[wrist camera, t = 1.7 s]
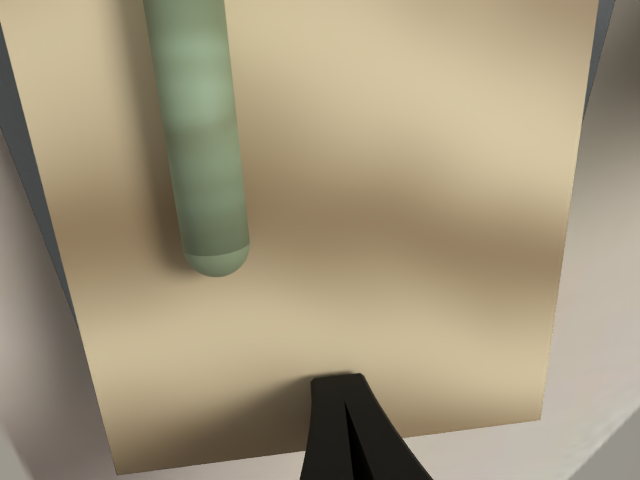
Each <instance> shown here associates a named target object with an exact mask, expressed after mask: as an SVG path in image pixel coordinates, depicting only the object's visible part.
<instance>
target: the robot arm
mask: <svg viewBox="0 0 640 480" xmlns="http://www.w3.org/2000/svg"><path fill="white" fill-rule="evenodd" d="M310 385H311V416H310V426H309V433H308V439H307V446H306V452H305V458H304V462H303V467H302V471H301V476H300V480H433V479H432V478H431V476H430V475H429V474H428V472H427V471H426V470H425V469H424V467H423V466H422V465H421V464H420V462H419V461H418V460H417V458H416V457H415V456H414V454H413V453H412V452H411V450H410V449H409V448H408V446H407V445H406V443H405V442H404V440H403V439H402V437H401V436H400V435H399V433H398V432H397V430H396V429H395V427H394V426H393V424H392V423H391V421H390V420H389V418H388V417H387V415H386V414H385V412H384V410H383V409H382V407H381V406H380V404H379V402H378V401H377V399H376V397H375V395H374V394H373V392H372V390H371V388H370V386H369V384H368V382H367V380H366V378H365V376H364V375H363V374H361V373H355V374H346V375H337V376H328V377H320V378H314V379H313V380H312V381H311V382H310Z"/></svg>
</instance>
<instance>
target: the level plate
mask: <svg viewBox="0 0 640 480" xmlns="http://www.w3.org/2000/svg"><path fill="white" fill-rule="evenodd" d="M598 3H599V0H0V22H1V26H2V30H3V34H4V38H5V42H6V46H7V49H8V53H9V57H10V61H11V65H12V69H13V73H14V77H15V81H16V84H17V88H18V92H19V96H20V100H21V104H22V108H23V112H24V116H25V120H26V123H27V127H28V131H29V135H30V139H31V143H32V147H33V151H34V155H35V158H36V162H37V166H38V170H39V174H40V178H41V182H42V186H43V190H44V194H45V197H46V201H47V205H48V209H49V213H50V217H51V221H52V225H53V229H54V232H55V236H56V240H57V244H58V248H59V252H60V256H61V260H62V264H63V268H64V271H65V275H66V279H67V283H68V287H69V291H70V295H71V299H72V303H73V306H74V310H75V314H76V318H77V322H78V326H79V330H80V334H81V338H82V342H83V345H84V349H85V353H86V357H87V361H88V365H89V369H90V373H91V377H92V380H93V384H94V388H95V392H96V396H97V400H98V404H99V408H100V412H101V416H102V419H103V423H104V427H105V431H106V435H107V439H108V443H109V447H110V451H111V454H112V458H113V462H114V466H115V470H116V474H117V475H123V474H131V473H139V472H146V471H154V470H162V469H169V468H177V467H184V466H192V465H200V464H207V463H215V462H223V461H230V460H238V459H246V458H253V457H261V456H269V455H276V454H284V453H292V452H299V451H306V446H307V439H308V433H309V426H310V416H311V385H310V382H311V381H312V380H313V379H314V378H320V377H328V376H337V375H346V374H355V373H361V374H363V375H364V376H365V378H366V380H367V382H368V384H369V386H370V388H371V390H372V392H373V394H374V395H375V397H376V399H377V401H378V402H379V404H380V406H381V407H382V409H383V410H384V412H385V414H386V415H387V417H388V418H389V420H390V421H391V423H392V424H393V426H394V427H395V429H396V430H397V432H398V433H399V435H400V436H401V437H402V438H406V437H414V436H422V435H429V434H437V433H445V432H452V431H460V430H468V429H475V428H483V427H490V426H498V425H506V424H513V423H521V422H529V421H536V420H540V419H541V412H542V405H543V397H544V390H545V383H546V376H547V369H548V361H549V354H550V347H551V340H552V333H553V326H554V318H555V311H556V304H557V297H558V290H559V283H560V275H561V268H562V261H563V254H564V247H565V239H566V232H567V225H568V218H569V211H570V204H571V196H572V189H573V182H574V175H575V168H576V161H577V153H578V146H579V139H580V132H581V125H582V117H583V110H584V103H585V96H586V89H587V82H588V74H589V67H590V60H591V53H592V46H593V38H594V31H595V24H596V17H597V10H598Z"/></svg>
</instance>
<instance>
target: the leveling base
mask: <svg viewBox="0 0 640 480" xmlns="http://www.w3.org/2000/svg"><path fill="white" fill-rule="evenodd" d="M614 2H615V0H599V3H598V10H597V17H596V24H595V31H594V38H593V46H592V53H591V60H590V67H589V74H588V82H587V89H586V96H585V103H584V110H583V117H582V122H583V118H584V115H585V111H586V107H587V103H588V100H589V96H590V92H591V89H592V85H593V81H594V77H595V74H596V70H597V66H598V62H599V59H600V55H601V51H602V47H603V44H604V40H605V36H606V32H607V29H608V25H609V21H610V17H611V14H612V10H613V6H614ZM0 126H1V129H2V132H3V134H4V137H5V139H6V142H7V145H8V147H9V150H10V152H11V155H12V158H13V160H14V163H15V165H16V168H17V171H18V173H19V176H20V178H21V181H22V184H23V186H24V189H25V191H26V194H27V197H28V199H29V202H30V204H31V207H32V210H33V212H34V215H35V217H36V220H37V223H38V225H39V228H40V230H41V233H42V236H43V238H44V241H45V243H46V246H47V249H48V251H49V254H50V256H51V259H52V262H53V264H54V267H55V269H56V272H57V275H58V277H59V280H60V282H61V285H62V288H63V290H64V293H65V295H66V298H67V301H68V303H69V306H70V308H71V311H72V314H73V316H74V319H75V321H76V324H77V327H78V329H79V326H78V322H77V318H76V314H75V310H74V306H73V303H72V299H71V295H70V291H69V287H68V283H67V279H66V275H65V271H64V268H63V264H62V260H61V256H60V252H59V248H58V244H57V240H56V236H55V232H54V229H53V225H52V221H51V217H50V213H49V209H48V205H47V201H46V197H45V194H44V190H43V186H42V182H41V178H40V174H39V170H38V166H37V162H36V158H35V155H34V151H33V147H32V143H31V139H30V135H29V131H28V127H27V123H26V120H25V116H24V112H23V108H22V104H21V100H20V96H19V92H18V88H17V84H16V81H15V77H14V73H13V69H12V65H11V61H10V57H9V53H8V49H7V46H6V42H5V38H4V34H3V30H2V26H1V22H0ZM581 126H582V125H581ZM79 332H80V330H79Z"/></svg>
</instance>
